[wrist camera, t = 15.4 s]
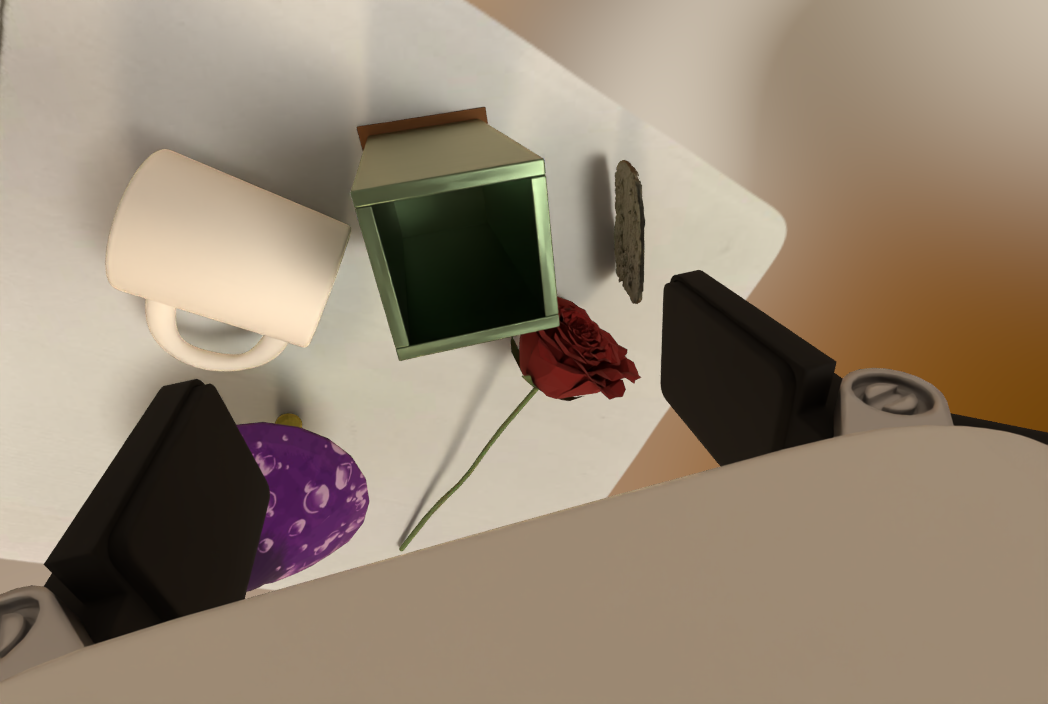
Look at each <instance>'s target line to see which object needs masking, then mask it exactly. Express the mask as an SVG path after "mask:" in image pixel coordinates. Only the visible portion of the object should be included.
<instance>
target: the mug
mask: <svg viewBox="0 0 1048 704" xmlns="http://www.w3.org/2000/svg"><path fill="white" fill-rule="evenodd" d="M350 233H351V227H350V226H349V225H348V224H345V223H343V222H341V221H338V220H336V219H333V218H331V217H329V216H326V215H324V214H321V213H319V212H317V211H314V210H312V209H310V208H307V207H305V206H302V205H300V204H298V203H295V202H293V201H291V200H288V199H286V198H283V197H281V196H279V195H276V194H274V193H272V192H269V191H267V190H264V189H262V188H260V187H257V186H255V185H252V184H250V183H248V182H245V181H243V180H241V179H238V178H236V177H233V176H231V175H229V174H226V173H224V172H222V171H219V170H217V169H214V168H212V167H210V166H207V165H205V164H203V163H200V162H198V161H195V160H193V159H191V158H188V157H186V156H184V155H181V154H179V153H176V152H174V151H172V150H168V149H161V150H158V151H156V152H154V153H153V154H151V155H150V156H149V157H148V158H147V159H146V160H145V161H144V162H143V163H142V164H141V166H140V167H139V168H138V170H137V171H136V173H135V174H134V176H133V177H132V179H131V181H130V182H129V184H128V186H127V188H126V190H125V192H124V194H123V196H122V198H121V201H120V203H119V205H118V208H117V211H116V213H115V216H114V219H113V223H112V226H111V230H110V233H109V238H108V243H107V249H106V261H105V265H106V274H107V278H108V281H109V282H110V284H111V285H112V286H113V287H114V288H115V289H117V290H120V291H123V292H126V293H130V294H133V295H136V296H139V297H143V298H146V300H145V314H146V320H147V324H148V327H149V330H150V332H151V334H152V336H153V338H154V339H155V341H156V342H157V343H158V344H159V345H160V346H161V347H162V348H163V349H164V350H165V351H166V352H167V353H169V354H170V355H171V356H173V357H174V358H176V359H178V360H180V361H182V362H184V363H186V364H188V365H191V366H194V367H197V368H201V369H206V370H214V371H237V370H245V369H250V368H254V367H258V366H261V365H263V364H265V363H268V362H269V361H271V360H273V359H274V358H275V357H277V356H278V355H279V354H280V353H281V352H282V351H283V350H284V349H285V347H286V346H287V344H288V343H291V344H294V345H297V346H300V347H307V346H308V345H309V343H310V342H311V339H312V337H313V335H314V333H315V330H316V328H317V325H318V323H319V320H320V318H321V315H322V313H323V310H324V308H325V305H326V302H327V300H328V297H329V294H330V292H331V289H332V286H333V284H334V281H335V278H336V275H337V273H338V270H339V267H340V264H341V261H342V258H343V255H344V252H345V249H346V246H347V243H348V240H349V237H350ZM176 308H178V309H181V310H184V311H188V312H191V313H194V314H197V315H201V316H204V317H207V318H210V319H213V320H217V321H220V322H223V323H226V324H229V325H233V326H236V327H239V328H242V329H246V330H249V331H252V332H255V333H258V334H262V335H263V337H262V338H261V340H260V341H259V342H258V343H257V344H256V345H255V346H254V347H253V348H252V349H251V350H249V351H247V352H245V353H242V354H222V353H217V352H212V351H208V350H204V349H201V348H198V347H195V346H193V345H191V344H189V343H187V342H186V341H184V340H183V339H182V337H181V336H180V334H179V332H178V329H177V325H176Z"/></svg>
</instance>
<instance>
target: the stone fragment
mask: <svg viewBox="0 0 1048 704" xmlns="http://www.w3.org/2000/svg"><path fill="white" fill-rule="evenodd" d="M616 170H617V172H616V173H615V187H616V188H615V193H616V197H615V200H616V201H615V210H616V214H617V215H616V217H615V219H616V221H615V226H614V241H615V242H614V251H615V262H616V274H617V276H618V277H619V282H621V281H623V285H622V286H623V287H624V289H625V290H626V292H627V294H628V295H629V296H630V299H631V301H632V303H633V304H634V303H635V304H638V303H639V302H641V300H642V292H643V283H644V227H645V218H644V206H643V200H642V185H641V182H640V181H639V179H638V177H637V174H638V172H637V171H636V169H635V168H634V167H633V166H631V164H630V163H629V162H628V161H626V160H622V161H620V162H619V163H618V166H617V168H616ZM638 176H639V174H638Z"/></svg>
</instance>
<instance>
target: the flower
mask: <svg viewBox="0 0 1048 704" xmlns="http://www.w3.org/2000/svg"><path fill="white" fill-rule="evenodd" d="M557 302H558V315H559V323H560V326H559V327H554V328H549V329H545V330H540V331H536V332H531V333H526V334H522V335H520V342H519V349H518V347H517V345H516V343H515V341H514V339H513V337H512V338H511V352H512V354H513V356H514V358H515V360H516V362H517V364H518V366H519V368H520V370H521V372H522V374H523V375H524V376H522V377H523V378H524V379H525V380H526V381H527V382H528V383H529V384H530V385H532V386H533V387H534V388H533V389H532V390H531V392H530V393H529V394H528V395H527V396H526V397H525V399H524V400H523V401H522V402H521V403H520V404H519V406H518V407H517V408H516V409H515V410H514V411H513V412H512V414H511V415H510V416H509V417H508V418H507V419H506V421H505V422H504V423H503V424H502V425H501V426H500V428H499V429H498V430H497V432H496V433H495V434H494V436H493V437H492V438H491V440H490V441H489V442H488V444H487V445H486V446H485V448H484V449H483V450H482V452H481V453H480V455H479V456H478V458H477V459H476V460H475V462H474V463H473V465H472V466H471V468H470V469H469V470H468V471H467V473H466V474H465V475H464V476H463V477H462V478H461V480H460V481H459V482H458V483H457V484H456V485H455V486H454V487H453V488H451V489H450V490H449V491H448V492H447V493H446V494H445V495H444V496H443V497H442V498H441V499H440V500H439V501H438V502H437V503H436V504H435V505H434V506H433V507H432V508H431V510H430V511H429V512H428V513H427V514H426V515H425V516H424V517H423V518H422V520H421V521H420V522H419V524H418V525H417V526H416V527H415V529H414V530H413V531H412V533H411V534H410V535H409V536H408V538H407V539H406V540H405V542H404V543H403V544H402V545H401V547H400V548H399V550H400V551H403V550H404V549H405V548H406V547H407V545H408V544H409V543H410V542H411V540H412V539H413V538H414V537H415V535H416V534H417V533H418V532H419V530H420V529H421V528H422V527H423V525H424V524H425V523H426V522H427V520H428V519H429V518H430V516H431V515H432V514H433V513H434V512H435V511H436V510H437V509H438V508H439V507H440V506H441V505H442V504H443V503H444V502H445V501H446V500H447V499H448V498H449V497H450V496H451V495H452V494H453V493H454V492H455V491H456V490H457V489H458V488H459V487H460V486H461V485H462V484H463V482H464V481H465V480H466V479H467V478H468V477H469V476H470V475H471V473H472V472H473V471H474V469H475V468H476V466H477V465H478V464H479V462H480V461H481V459H482V458H483V457H484V455H485V454H486V452H487V451H488V450H489V448H490V447H491V446H492V444H493V443H494V442H495V441H496V439H497V438H498V437H499V436H500V434H501V433H502V432H503V431H504V429H505V428H506V427H507V426H508V424H509V423H510V422H511V421H512V420H513V419H514V417H515V416H516V415H517V414H518V413H519V412H520V410H521V409H522V408H523V407H524V406H525V405H526V404H527V402H528V401H529V400H530V399H531V398H532V397H533V395H534V394H535V393H536V392H537V391H538V390H540V391H542V392H543V393H544V394H545V395H546V396H548V397H552V398H555V399H560V400H566V401H571V400H574V399H577V398H579V397H573V396H579V395H586V394H593V393H598V392H600V391H601V392H602V393H603V394H604V395H605V396H606V397H607V398H608V399H609V400H610V399H612V398H615V397H623V394H624V392H625V390H626V389H625V386H624V383H623V380H620V379H623V378H627V379H628V380H630V381H631V382H632V383H635V380H637V379H639V378H641V377H640V376H639V375H638V371H637V369H636V367H635V364H634V362H632V361H631V360H629V359H627V358H626V357H625V355H626V354H627V349H625V348H623V347H622V346H620V345H618V344H617V343H616V341H615V340H614V339H613V337H612V336H611V335H610V334H609V333H608V332H606V331H604V330H602V329H600V328H599V326H598V325H597V324H596V323H595V322H594V321H592V320H591V319H590V318H589V316H588V314H587V313H586V311H585V310H584V309H582V308H579V307H578V306H577V305H575V304H574V303H573V302H571V301H569V300H566V299H563V298H560V297H557ZM580 397H582V396H580Z"/></svg>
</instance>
